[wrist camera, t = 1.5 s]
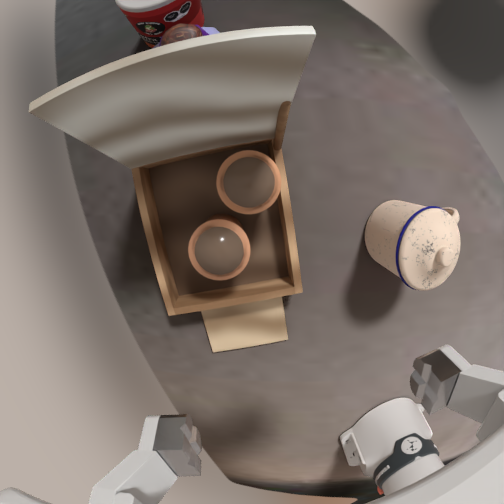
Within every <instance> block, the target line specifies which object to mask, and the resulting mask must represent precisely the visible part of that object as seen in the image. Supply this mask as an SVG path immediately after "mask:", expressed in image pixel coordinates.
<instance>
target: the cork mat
mask: <svg viewBox="0 0 504 504" xmlns="http://www.w3.org/2000/svg"><path fill="white" fill-rule="evenodd" d="M201 313H202V316H203V320H204V323H205V327H206V330H207V334H208V337H209V340H210V344H211V347H212V350H213V352H219V351H226V350H232V349H239V348H245V347H251V346H256V345H262V344H267V343H273V342H278V341H283V340H288V336H287V328H286V322H285V315H284V308H283V301H282V297H277V298H272V299H266V300H261V301H256V302H250V303H245V304H239V305H233V306H228V307H222V308H216V309H210V310H203V311H201Z"/></svg>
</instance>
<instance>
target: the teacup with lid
mask: <svg viewBox="0 0 504 504" xmlns="http://www.w3.org/2000/svg"><path fill="white" fill-rule="evenodd" d="M458 222H459V214H458V211H457V210H456V209H454V208H449V207H446V208H440V207H436V206H429V207H426V206H422V205H417V204H413V203H408V202H404V201H399V200H391V201H387V202H384V203H382V204H381V205H379V206H378V207H377V208H376V209H375V210H374V211H373V212H372V214H371V215H370V217H369V219H368V222H367V225H366V229H365V243H366V247H367V250H368V252H369V254H370V256H371V257H372V258H373V259H374V260H375V261H376V262H377V263H379V264H380V265H382V266H383V267H385V268H386V269H388V270H389V271H391V272H392V273H394V274H395V275H397V276H398V277H399V278H401V279H402V281H403V282H404V283H405V284H406V285H407V286H408V287H410V288H412V289H415V290H421V291H425V290H430V289H433V288H435V287H437V286H439V285H440V284H442V283H443V282H444V281H445V280H446V279H447V278H448V277H449V275H450V274H451V272H452V271H453V269H454V267H455V265H456V263H457V260H458V256H459V252H460V234H459V229H458V227H457V223H458Z"/></svg>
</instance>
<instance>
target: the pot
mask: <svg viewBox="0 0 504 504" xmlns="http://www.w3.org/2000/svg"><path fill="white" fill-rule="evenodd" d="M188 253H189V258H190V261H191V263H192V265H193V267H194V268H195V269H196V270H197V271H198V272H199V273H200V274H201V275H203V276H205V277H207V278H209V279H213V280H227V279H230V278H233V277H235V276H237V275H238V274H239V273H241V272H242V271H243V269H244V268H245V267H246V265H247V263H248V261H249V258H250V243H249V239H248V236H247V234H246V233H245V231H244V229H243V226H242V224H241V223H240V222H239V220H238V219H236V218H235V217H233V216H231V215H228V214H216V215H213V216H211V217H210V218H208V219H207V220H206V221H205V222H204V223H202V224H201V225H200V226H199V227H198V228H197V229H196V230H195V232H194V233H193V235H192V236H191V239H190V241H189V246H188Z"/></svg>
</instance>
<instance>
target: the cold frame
mask: <svg viewBox="0 0 504 504" xmlns="http://www.w3.org/2000/svg"><path fill="white" fill-rule="evenodd" d="M315 36H316V33H315V30H314V28H313V26H284V27H267V28H255V29H246V30H238V31H231V32H224V33H218V34H212V35H207V36H201V37H197V38H192V39H187V40H183V41H179V42H175V43H171V44H167V45H164V46H160V47H156V48H153V49H150V50H147V51H143V52H140V53H137V54H134V55H131V56H128V57H126V58H123V59H120V60H117V61H115V62H112V63H110V64H107V65H105V66H102V67H100V68H97V69H95V70H93V71H90V72H88V73H86V74H84V75H82V76H80V77H77V78H75V79H73V80H71V81H69V82H67V83H65V84H63V85H61V86H59V87H58V88H56V89H54V90H52V91H50V92H49V93H47V94H45V95H43V96H41V97H40V98H38V99H36V100H35V101H33V102H31V103H30V106H29V113H31V114H33V115H35V116H37V117H38V118H40V119H42V120H44V121H46V122H48V123H49V124H51V125H53V126H55V127H57V128H59V129H60V130H62V131H64V132H66V133H68V134H69V135H71V136H73V137H75V138H77V139H79V140H80V141H82V142H84V143H86V144H88V145H89V146H91V147H93V148H95V149H97V150H98V151H100V152H102V153H104V154H106V155H107V156H109V157H111V158H113V159H115V160H116V161H118V162H120V163H122V164H123V165H125V166H127V167H129V168H131V169H132V174H133V179H134V185H135V190H136V195H137V199H138V204H139V209H140V213H141V218H142V222H143V226H144V230H145V234H146V239H147V243H148V246H149V250H150V254H151V258H152V262H153V265H154V269H155V272H156V276H157V279H158V283H159V286H160V290H161V293H162V296H163V299H164V303H165V306H166V309H167V312H168V315H169V316H170V315H177V314H184V313H191V312H197V311H203V310H210V309H216V308H222V307H228V306H233V305H239V304H245V303H250V302H256V301H261V300H266V299H272V298H277V297H282V296H287V295H292V294H297V293H302V292H303V291H302V283H301V275H300V267H299V259H298V252H297V244H296V237H295V230H294V223H293V216H292V210H291V203H290V197H289V191H288V185H287V178H286V173H285V167H284V161H283V155H282V150H281V146H282V142H283V137H284V133H285V128H286V123H287V118H288V114H289V109H290V106H291V103H292V100H293V97H294V95H295V92H296V89H297V86H298V83H299V81H300V78H301V75H302V72H303V69H304V66H305V64H306V61H307V58H308V55H309V53H310V50H311V47H312V44H313V41H314V39H315ZM245 150H253V151H258V152H261V153H263V154H265V155H267V156H268V157H269V158H271V159H272V160H273V161H274V163H275V164H276V165H277V167H278V169H279V172H280V175H281V190H280V193H279V195H278V197H277V199H276V201H275V202H274V203H273V204H272V205H271V206H270V207H269V208H267V209H266V210H264V211H262V212H260V213H256V214H242V213H238V212H236V211H233V210H232V209H230V208H229V207H228V206H226V205H225V204H224V202H223V201H222V200H221V198H220V196H219V194H218V190H217V185H216V180H217V174H218V171H219V169H220V167H221V165H222V164H223V162H224V161H225V160H226V159H227V158H228V157H230V156H231V155H233V154H235V153H237V152H240V151H245ZM216 214H228V215H231V216H233V217H235V218H236V219H238V220H239V222H240V223H241V224H242V226H243V229H244V231H245V233H246V234H247V236H248V239H249V243H250V258H249V261H248V263H247V265H246V267H245V268H244V269H243V271H242V272H241V273H239V274H238V275H237V276H235V277H233V278H230V279H227V280H213V279H209V278H207V277H205V276H203V275H201V274H200V273H199V272H198V271H197V270H196V269H195V268H194V267H193V265H192V263H191V261H190V258H189V253H188V246H189V241H190V239H191V236H192V235H193V233H194V232H195V230H196V229H197V228H198V227H199V226H200V225H201V224H202V223H204V222H205V221H206V220H207V219H208V218H210V217H211V216H213V215H216Z"/></svg>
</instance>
